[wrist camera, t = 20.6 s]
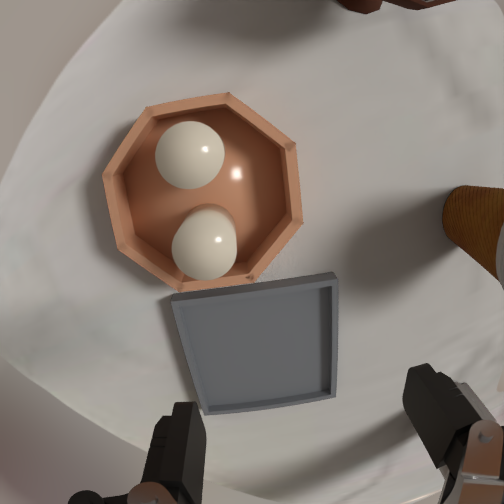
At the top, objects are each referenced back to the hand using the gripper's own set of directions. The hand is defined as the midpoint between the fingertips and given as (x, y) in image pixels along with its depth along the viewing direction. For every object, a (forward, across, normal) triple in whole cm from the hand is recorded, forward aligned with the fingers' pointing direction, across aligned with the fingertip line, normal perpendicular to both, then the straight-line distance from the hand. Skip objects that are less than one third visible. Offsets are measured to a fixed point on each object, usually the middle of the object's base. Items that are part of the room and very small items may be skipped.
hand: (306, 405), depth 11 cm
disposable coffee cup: (+19, -21, -1) cm, 29 cm away
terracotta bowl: (+18, +5, -6) cm, 20 cm away
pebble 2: (+18, +5, -3) cm, 19 cm away
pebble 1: (+18, +5, -9) cm, 20 cm away
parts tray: (+19, +2, +10) cm, 22 cm away
